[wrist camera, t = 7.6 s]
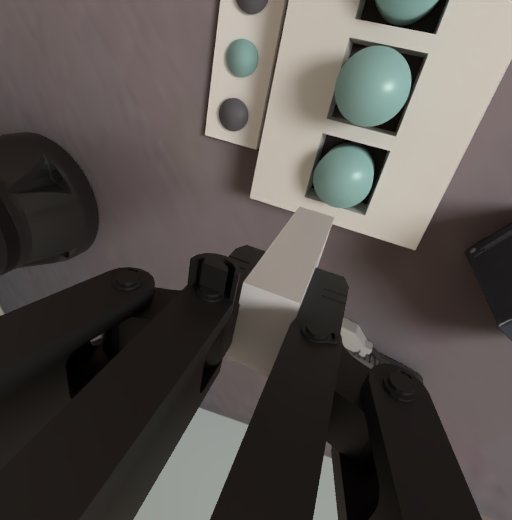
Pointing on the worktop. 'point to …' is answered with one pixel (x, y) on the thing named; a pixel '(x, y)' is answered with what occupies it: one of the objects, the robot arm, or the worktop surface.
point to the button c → (404, 10)
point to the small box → (495, 274)
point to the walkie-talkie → (365, 348)
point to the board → (397, 143)
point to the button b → (373, 86)
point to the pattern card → (243, 69)
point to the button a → (344, 175)
